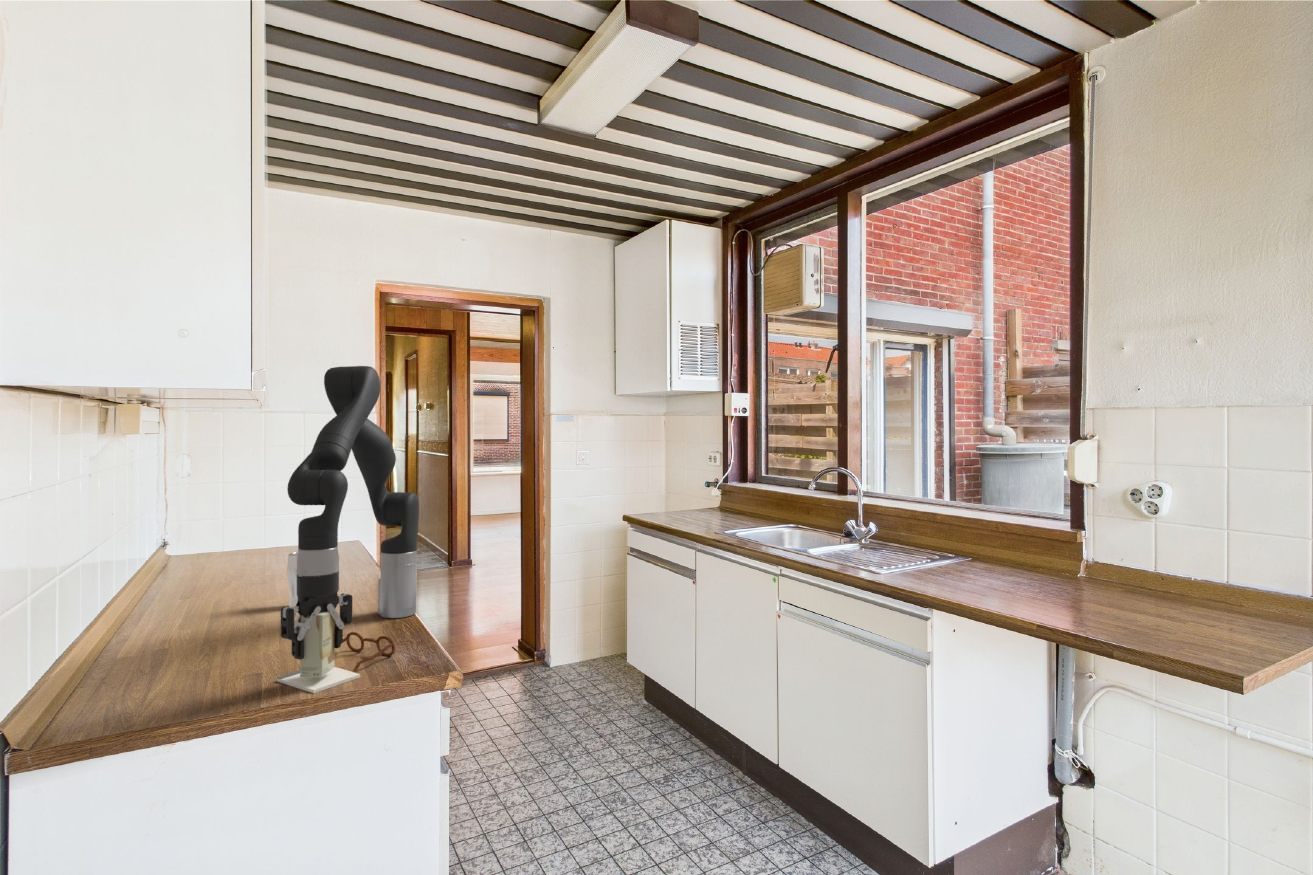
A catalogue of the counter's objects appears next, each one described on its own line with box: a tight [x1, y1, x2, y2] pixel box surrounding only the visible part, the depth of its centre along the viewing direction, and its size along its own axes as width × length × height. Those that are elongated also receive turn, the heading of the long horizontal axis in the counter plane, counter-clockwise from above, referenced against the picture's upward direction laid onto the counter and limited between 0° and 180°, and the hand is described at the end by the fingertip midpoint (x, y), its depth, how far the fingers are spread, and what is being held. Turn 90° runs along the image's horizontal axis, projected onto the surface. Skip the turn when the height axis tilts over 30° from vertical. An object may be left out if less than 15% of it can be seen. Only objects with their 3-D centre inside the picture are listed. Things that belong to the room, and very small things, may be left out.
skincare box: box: [299, 611, 336, 677], centre depth 134 cm, size 6×4×12 cm
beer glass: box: [286, 551, 298, 607], centre depth 192 cm, size 7×7×15 cm
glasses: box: [342, 631, 396, 673], centre depth 146 cm, size 13×13×5 cm
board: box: [276, 666, 361, 694], centre depth 136 cm, size 12×10×1 cm
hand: (317, 652), depth 134 cm, fingers closed on skincare box, 7 cm apart
